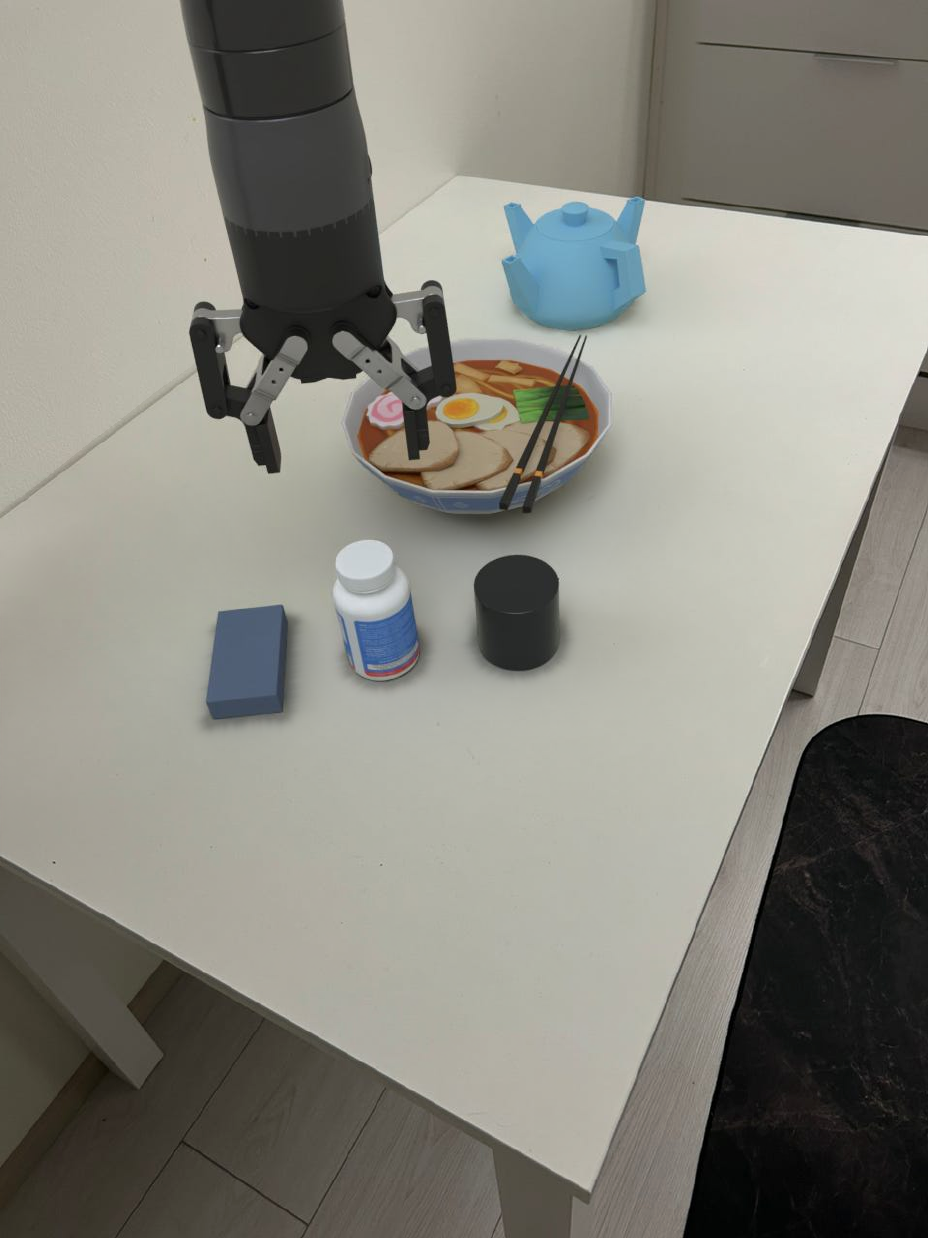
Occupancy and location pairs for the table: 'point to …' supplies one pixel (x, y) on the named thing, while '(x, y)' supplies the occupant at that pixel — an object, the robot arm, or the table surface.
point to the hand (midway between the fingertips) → (345, 458)
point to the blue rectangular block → (248, 662)
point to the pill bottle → (375, 611)
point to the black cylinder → (517, 612)
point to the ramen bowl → (486, 427)
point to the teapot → (575, 264)
